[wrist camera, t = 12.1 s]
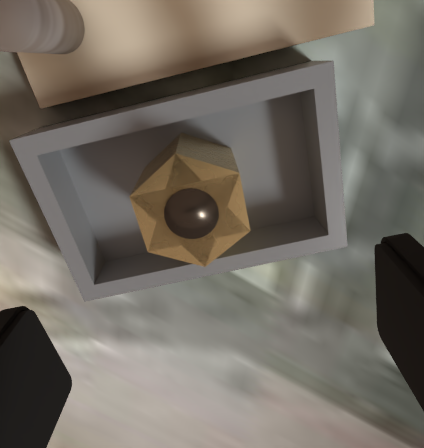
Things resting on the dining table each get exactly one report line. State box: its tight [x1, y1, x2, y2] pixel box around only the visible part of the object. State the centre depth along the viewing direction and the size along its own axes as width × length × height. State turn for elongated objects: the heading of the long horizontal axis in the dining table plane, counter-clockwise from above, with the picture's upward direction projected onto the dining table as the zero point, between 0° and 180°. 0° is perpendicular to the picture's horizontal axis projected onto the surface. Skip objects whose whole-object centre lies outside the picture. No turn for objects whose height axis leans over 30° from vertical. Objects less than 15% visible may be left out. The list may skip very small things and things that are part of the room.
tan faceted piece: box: [129, 132, 250, 267], centre depth 19 cm, size 5×6×5 cm
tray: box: [9, 61, 347, 302], centre depth 21 cm, size 16×10×4 cm, turn 103°
